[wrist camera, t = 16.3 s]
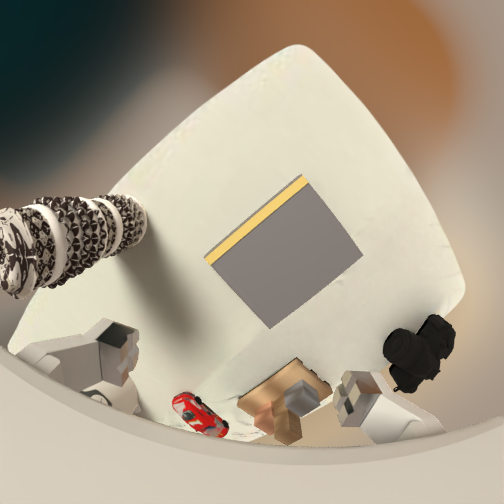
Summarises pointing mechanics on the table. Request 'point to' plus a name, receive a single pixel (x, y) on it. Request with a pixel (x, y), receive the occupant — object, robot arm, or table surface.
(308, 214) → the plate
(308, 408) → the gray cube
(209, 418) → the race car
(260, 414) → the terracotta crate
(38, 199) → the decorative candle
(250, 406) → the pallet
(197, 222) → the table surface
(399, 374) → the film camera
